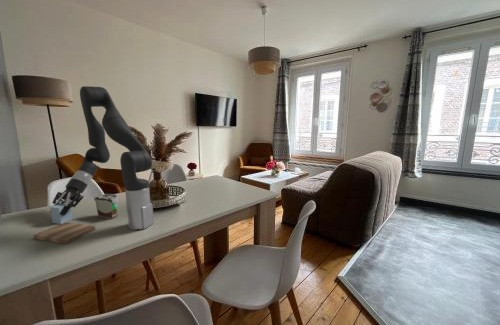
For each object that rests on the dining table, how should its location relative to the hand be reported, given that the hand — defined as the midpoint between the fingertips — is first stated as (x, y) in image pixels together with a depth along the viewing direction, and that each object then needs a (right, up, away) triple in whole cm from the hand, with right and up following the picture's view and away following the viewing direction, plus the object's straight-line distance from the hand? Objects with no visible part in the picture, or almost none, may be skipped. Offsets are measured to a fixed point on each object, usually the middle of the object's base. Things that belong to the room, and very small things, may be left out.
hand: (57, 214), depth 99 cm
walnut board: (+12, -6, -9) cm, 16 cm away
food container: (+19, -3, +9) cm, 21 cm away
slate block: (0, -4, +2) cm, 5 cm away
